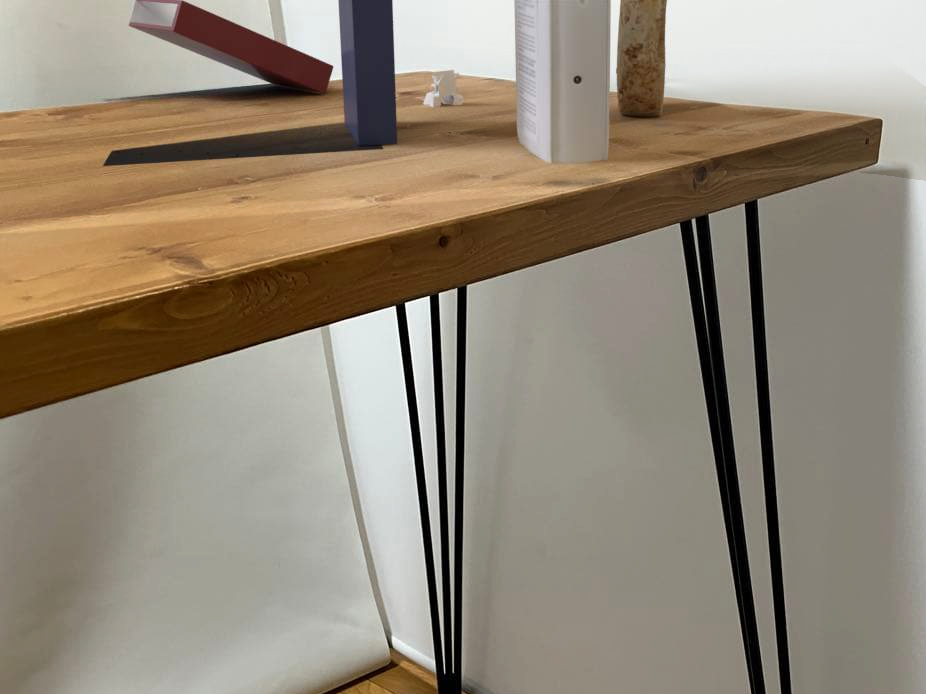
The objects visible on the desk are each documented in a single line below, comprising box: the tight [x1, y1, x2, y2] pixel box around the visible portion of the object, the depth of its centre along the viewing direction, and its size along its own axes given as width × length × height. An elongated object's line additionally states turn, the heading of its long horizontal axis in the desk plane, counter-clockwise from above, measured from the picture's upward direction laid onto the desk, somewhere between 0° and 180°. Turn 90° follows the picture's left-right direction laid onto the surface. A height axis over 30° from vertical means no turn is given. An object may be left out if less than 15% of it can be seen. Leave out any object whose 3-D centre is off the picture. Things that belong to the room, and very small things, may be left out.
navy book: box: [337, 0, 398, 147], centre depth 74 cm, size 14×10×2 cm
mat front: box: [103, 122, 385, 167], centre depth 74 cm, size 17×13×1 cm
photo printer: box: [513, 0, 612, 164], centre depth 67 cm, size 10×4×12 cm, turn 13°
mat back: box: [103, 83, 332, 107], centre depth 96 cm, size 17×13×1 cm
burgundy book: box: [128, 0, 334, 95], centre depth 95 cm, size 14×10×2 cm
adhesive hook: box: [422, 69, 464, 108], centre depth 89 cm, size 3×3×3 cm
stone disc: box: [615, 0, 668, 118], centre depth 82 cm, size 10×4×10 cm, turn 171°
